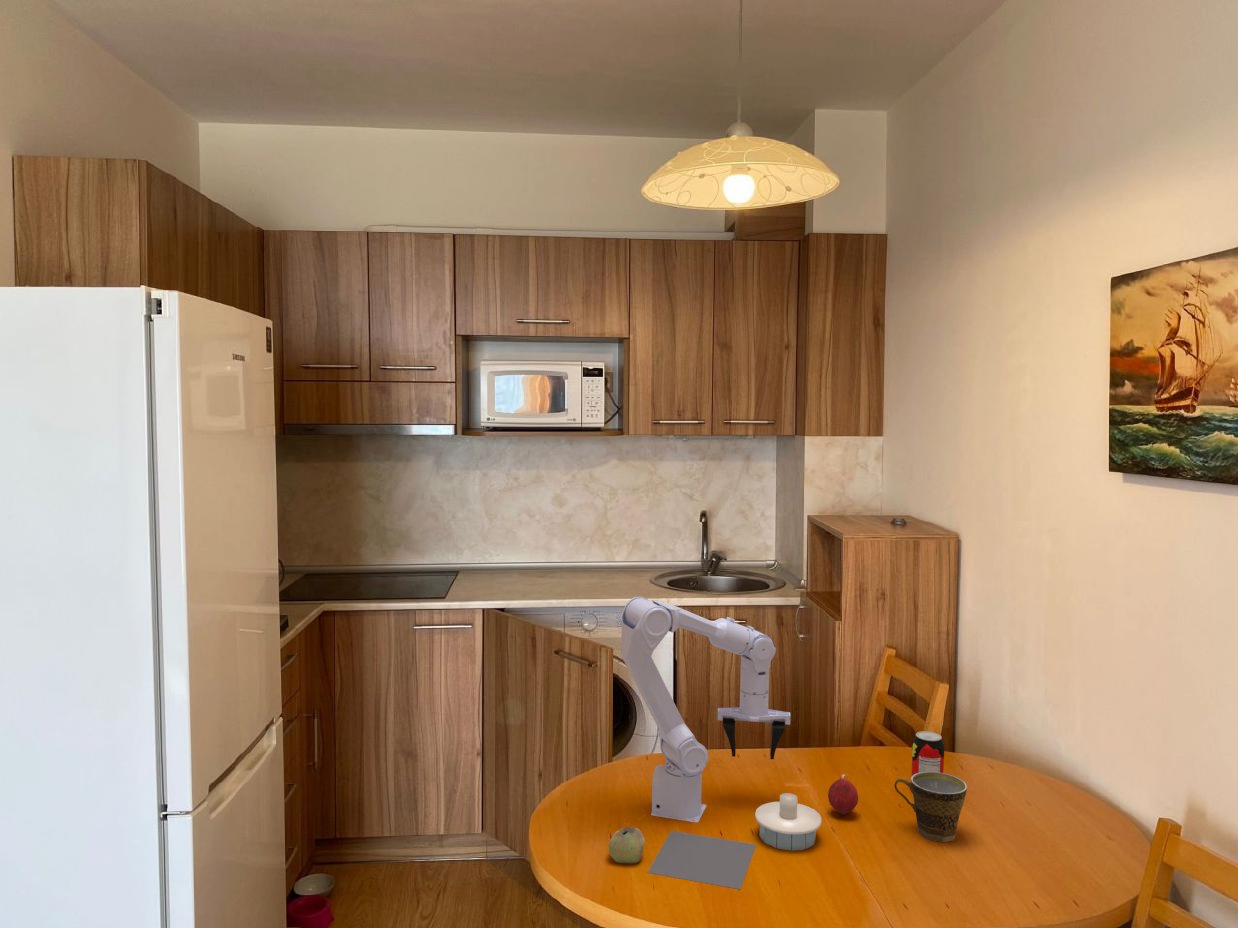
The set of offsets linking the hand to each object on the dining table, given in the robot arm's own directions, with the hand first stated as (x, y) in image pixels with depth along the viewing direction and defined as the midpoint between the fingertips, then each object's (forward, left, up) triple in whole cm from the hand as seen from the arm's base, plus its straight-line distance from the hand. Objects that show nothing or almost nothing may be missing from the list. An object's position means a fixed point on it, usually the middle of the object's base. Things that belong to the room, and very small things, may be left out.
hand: (752, 755), depth 182 cm
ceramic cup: (+34, -2, -10) cm, 35 cm away
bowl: (+9, -14, -9) cm, 19 cm away
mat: (-4, -27, -9) cm, 29 cm away
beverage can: (+34, +17, -10) cm, 39 cm away
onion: (+18, 0, -10) cm, 20 cm away
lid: (+9, -14, -5) cm, 18 cm away
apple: (-16, -31, -10) cm, 36 cm away
